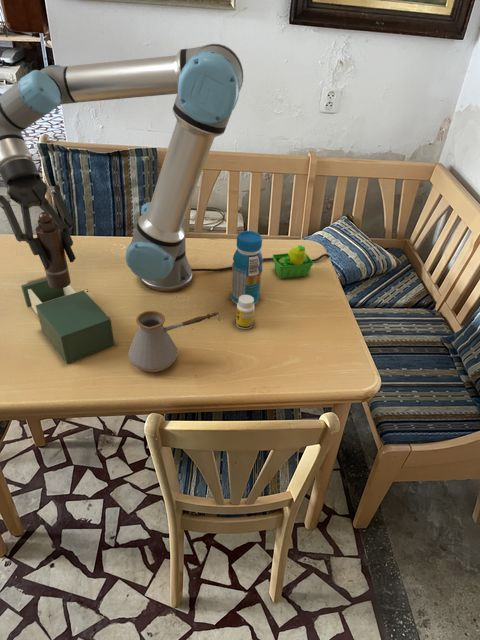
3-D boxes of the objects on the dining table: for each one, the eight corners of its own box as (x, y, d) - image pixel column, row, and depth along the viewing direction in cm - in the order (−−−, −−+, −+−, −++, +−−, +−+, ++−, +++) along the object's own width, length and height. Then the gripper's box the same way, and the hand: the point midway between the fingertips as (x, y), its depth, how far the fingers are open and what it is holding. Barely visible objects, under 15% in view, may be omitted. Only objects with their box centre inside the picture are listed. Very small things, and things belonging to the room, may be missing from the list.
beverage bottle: (226, 303, 138) (229, 240, 125) (234, 288, 145) (238, 226, 132) (255, 309, 137) (261, 246, 124) (262, 294, 144) (268, 232, 131)
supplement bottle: (235, 318, 133) (236, 293, 128) (252, 319, 134) (254, 293, 128) (235, 329, 129) (237, 303, 124) (253, 330, 130) (256, 304, 125)
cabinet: (42, 331, 122) (35, 305, 117) (88, 315, 128) (83, 290, 123) (66, 363, 114) (60, 336, 109) (114, 345, 120) (110, 319, 115)
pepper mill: (72, 276, 117) (58, 207, 106) (69, 288, 114) (55, 217, 102) (49, 277, 117) (33, 207, 105) (46, 289, 113) (29, 217, 101)
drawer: (20, 298, 130) (14, 277, 126) (60, 286, 136) (56, 266, 132) (46, 331, 121) (41, 311, 117) (88, 317, 127) (85, 297, 122)
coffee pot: (126, 377, 112) (119, 326, 102) (132, 345, 121) (126, 295, 111) (218, 378, 115) (221, 328, 105) (218, 347, 123) (220, 298, 114)
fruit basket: (302, 265, 159) (307, 233, 151) (313, 279, 152) (319, 247, 145) (269, 268, 155) (273, 236, 148) (280, 283, 149) (284, 250, 142)
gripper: (54, 167, 115) (95, 258, 116) (-29, 180, 105) (17, 280, 107) (59, 151, 109) (102, 247, 110) (-28, 164, 99) (20, 269, 101)
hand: (60, 263), depth 109 cm, fingers closed on pepper mill, 5 cm apart
